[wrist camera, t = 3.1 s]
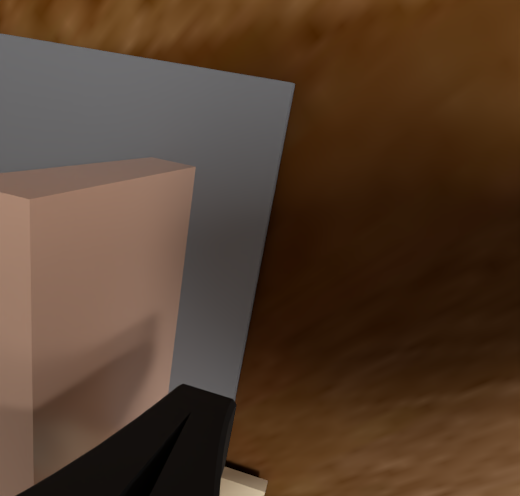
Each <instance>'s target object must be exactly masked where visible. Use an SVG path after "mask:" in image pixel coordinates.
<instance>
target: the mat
mask: <svg viewBox="0 0 520 496" xmlns="http://www.w3.org/2000/svg"><path fill="white" fill-rule="evenodd" d="M294 87H295V84H294V83H291V82H285V81H279V80H273V79H267V78H261V77H255V76H249V75H243V74H237V73H231V72H225V71H219V70H213V69H208V68H202V67H196V66H190V65H184V64H178V63H172V62H166V61H160V60H154V59H148V58H142V57H136V56H130V55H124V54H119V53H113V52H107V51H101V50H95V49H89V48H83V47H77V46H71V45H65V44H59V43H53V42H47V41H41V40H35V39H30V38H24V37H18V36H12V35H6V34H0V173H7V172H16V171H26V170H35V169H45V168H54V167H64V166H73V165H82V164H92V163H101V162H111V161H120V160H130V159H139V158H148V157H153V158H158V159H163V160H167V161H172V162H177V163H181V164H186V165H191V166H195V167H196V169H195V178H194V186H193V194H192V202H191V210H190V219H189V227H188V235H187V243H186V252H185V260H184V268H183V276H182V284H181V293H180V301H179V309H178V317H177V325H176V334H175V342H174V350H173V358H172V366H171V375H170V383H169V391H168V393H170V392H171V391H172V390H174V389H175V388H176V387H177V386H179V385H181V384H187V385H190V386H193V387H196V388H200V389H203V390H206V391H209V392H212V393H216V394H219V395H222V396H225V397H229V398H232V399H233V400H234V401H235V398H236V392H237V387H238V382H239V377H240V371H241V366H242V361H243V356H244V350H245V345H246V340H247V335H248V329H249V324H250V319H251V314H252V308H253V303H254V298H255V293H256V287H257V282H258V277H259V272H260V266H261V261H262V256H263V250H264V245H265V240H266V235H267V229H268V224H269V219H270V214H271V208H272V203H273V198H274V193H275V187H276V182H277V177H278V172H279V166H280V161H281V156H282V151H283V145H284V140H285V135H286V130H287V124H288V119H289V114H290V108H291V103H292V98H293V93H294Z"/></svg>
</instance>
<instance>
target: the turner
mask: <svg viewBox="0 0 520 496" xmlns="http://www.w3.org/2000/svg"><path fill="white" fill-rule="evenodd" d="M267 482H268V481H267V480H264V479H261V478H258V477H255V476H252V475H249V474H246V473H243V472H240V471H237V470H234V469H231V468H228V467H224V470H223V473H222V476H221V483H220V496H264V495H265V491H266V486H267Z"/></svg>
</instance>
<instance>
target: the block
mask: <svg viewBox="0 0 520 496" xmlns="http://www.w3.org/2000/svg"><path fill="white" fill-rule="evenodd" d="M195 169H196V167H195V166H191V165H186V164H181V163H177V162H172V161H167V160H163V159H158V158H153V157H148V158H139V159H130V160H120V161H111V162H101V163H92V164H82V165H73V166H64V167H54V168H45V169H35V170H26V171H16V172H7V173H0V496H16V495H17V494H19V493H21V492H23V491H25V490H26V489H28V488H30V487H32V486H33V485H35V484H37V483H38V482H40V481H42V480H43V479H45V478H47V477H48V476H50V475H52V474H54V473H55V472H57V471H58V470H60V469H62V468H63V467H65V466H66V465H68V464H69V463H71V462H72V461H74V460H76V459H77V458H79V457H80V456H82V455H83V454H85V453H86V452H88V451H90V450H91V449H93V448H94V447H96V446H97V445H99V444H100V443H102V442H103V441H105V440H106V439H108V438H109V437H110V436H112V435H113V434H115V433H116V432H117V431H119V430H120V429H122V428H123V427H124V426H126V425H127V424H129V423H130V422H132V421H133V420H134V419H136V418H137V417H138V416H140V415H141V414H142V413H144V412H145V411H146V410H148V409H149V408H150V407H152V406H153V405H154V404H156V403H157V402H158V401H160V400H161V399H162V398H163V397H165V396H166V395H167V394H168V391H169V383H170V375H171V366H172V358H173V350H174V342H175V334H176V325H177V317H178V309H179V301H180V293H181V284H182V276H183V268H184V260H185V252H186V243H187V235H188V227H189V219H190V210H191V202H192V194H193V186H194V178H195Z"/></svg>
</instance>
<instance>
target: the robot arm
mask: <svg viewBox="0 0 520 496" xmlns="http://www.w3.org/2000/svg"><path fill="white" fill-rule="evenodd" d="M235 410H236V403H235V401H234V400H233V399H232V398H229V397H225V396H222V395H219V394H216V393H212V392H209V391H206V390H203V389H200V388H196V387H193V386H190V385H187V384H181V385H179V386H177V387H176V388H175V389H174V390H172V391H171V392H170V393H168V394H167V395H166V396H165V397H163V398H162V399H161V400H160V401H158V402H157V403H156V404H154V405H153V406H152V407H150V408H149V409H148V410H146V411H145V412H144V413H142V414H141V415H140V416H138V417H137V418H136V419H134V420H133V421H132V422H130V423H129V424H127V425H126V426H124V427H123V428H122V429H120V430H119V431H117V432H116V433H115V434H113V435H112V436H110V437H109V438H108V439H106V440H105V441H103V442H102V443H100V444H99V445H97V446H96V447H94V448H93V449H91V450H90V451H88V452H86V453H85V454H83V455H82V456H80V457H79V458H77V459H76V460H74V461H72V462H71V463H69V464H68V465H66V466H65V467H63V468H62V469H60V470H58V471H57V472H55V473H54V474H52V475H50V476H48V477H47V478H45V479H43V480H42V481H40V482H38V483H37V484H35V485H33V486H32V487H30V488H28V489H26V490H25V491H23V492H21V493H19V494H17V495H16V496H220V483H221V476H222V473H223V470H224V467H225V462H226V457H227V452H228V447H229V441H230V436H231V431H232V426H233V420H234V415H235Z"/></svg>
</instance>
